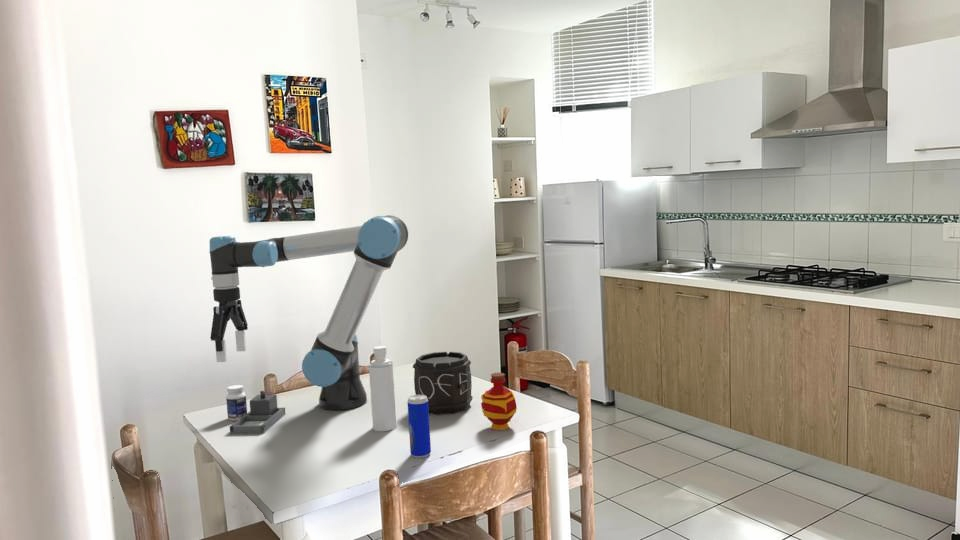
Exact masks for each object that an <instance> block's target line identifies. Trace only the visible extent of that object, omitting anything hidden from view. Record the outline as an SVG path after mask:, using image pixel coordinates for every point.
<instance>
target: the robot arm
mask: <svg viewBox="0 0 960 540" xmlns="http://www.w3.org/2000/svg"><path fill="white" fill-rule="evenodd" d="M236 239H237V238H236V237H235V236H233V235H221V236H220V235H219V236H218V235H217V236H212V237H211V238H210V239H209V251H208V253H209V256H210V266H211V281H212V288H213V290H212V292H213V295H212V296H213V301H215V302H218V306H213V309H212V310H213V315H212V317H213V318H212V323H211V324H212V325H211V331H210V340H211V342H212V341H214V345H215V357H216V363H226V362H228V359H227V358H228V357H227V350H226V348H227V347H226V340H225V334H226V329H227V325H228V322H229V321H231V322H232V324H233V326H234V328H235V331H234V333H235V346H236V352H246V351H247V346H246V332H245V331H247V330H248V329H249V328H248V325H249V324H248V321H247V319H246V316H245V312H244V310H243V306H242V300H241V289H240V287H239V285H240V277H239V268H250V267H251V268H257V267H259V268H267V267H273V266H275V264H277V263H278V262H287V261H293V260H300V259H307V258H315V257H321V256H329V255H336V254H343V253H351V252H352V253H353V254H354V255H353V256H354V257H355V261H354V264H353V266H352V268H351V271H350V272H349V275H348V277H347V280H346V282H345V285H344V286H343V289H342V291H341V293H340V295H339V298H338V300H337V303H336V304H335V307H334V310H333V311H332V314H331V317H330V319H329V321H328V323H327V326H326V328H325V330H324V331H322V332H319V333H318V334H317V335H316V338H315V340H314V342H313V345H312V347H311V349H310V350H309V351H308V352H307V353H306V355H304V357H303V360H302V363H301V370H302V373H303V375H304V377H305V379H306V380H307V381H308V382H309V383H310V384H312V385H314V386H316V387H320V388H321V389H320V394H319V397H318V403H319V404H318V405H319V408H321V409H323V410H328V411H343V410H349V409H355V408H357V407H361V406H363V405H365V404H367V402H368V398H367V395H368V394H367V392H366V390H365V387H364V385H363V383H362V380H361V377H360V374H361V373H360V360H359V359H360V358H359V342H358V336H357V334H356V333H357V331H358V328H359V327H360V324H361V323H362V320H363V317H364V315H365V313H366V312H367V309H368V307H369V305H370V302H371V300H372V298H373V295H374V293H375V291H376V288H377V285H378V284H379V281H380V279H381V277H382V276H383V272H384V271H387V270H389V269H391V267H392V265H393V262H394V260H395V258H396V256H397V254H398V252H399V251H401V250H402V249H404V247H405V246H406V245H407V244H408V243H407V242H408V240H409V230H408V227H407V225H406V223H405V222H404V221H403V220H402V219H401V218H399V217H397V216H395V215H378V216H373V217H371V218H370V219H368V220H367V221H365V222H363V224H362V225H357V226H352V227H345V228H343V227H342V228H336V229H330V230H323V231H315V232H310V233H309V232H308V233H302V234H296V235H288V236H284V237H283V236H281V237H273V238H269V239H262V240H257V241H246V242H245V241H244V242H239V241H237V240H236Z"/></svg>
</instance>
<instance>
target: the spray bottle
mask: <svg viewBox="0 0 960 540" xmlns="http://www.w3.org/2000/svg"><path fill="white" fill-rule="evenodd" d="M373 355H374V359H372V360H371V361H370V362H369V363H368V369H369V371H368V372H369V384H370V385H369V387H370V403H371V405H370V406H371V417H372V420H371V421H372V429H373V430H374V431H376V432H389V431H393V430H394V429H396V428H397V412H396V400H395V399H396V395H395V381H394V379H395V378H394V367H393V365H394V364H393V361H391V360H390V359H389V358H387V357H386V355H387V346H385V345H378V346H374V347H373Z"/></svg>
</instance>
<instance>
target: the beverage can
mask: <svg viewBox="0 0 960 540" xmlns="http://www.w3.org/2000/svg"><path fill="white" fill-rule="evenodd" d="M407 417H408V430H409V447H410V449H409V451H410V454H411V456H412V457H413V458H417V459H421V458H422V459H423V458H427V457H428V456H430V455H431V453H432V450H431V449H432V447H431V429H430V428H431V427H430V414H429V408H428V399H427V396H426V395H416V394H414V395H409V397H408V398H407Z"/></svg>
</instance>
